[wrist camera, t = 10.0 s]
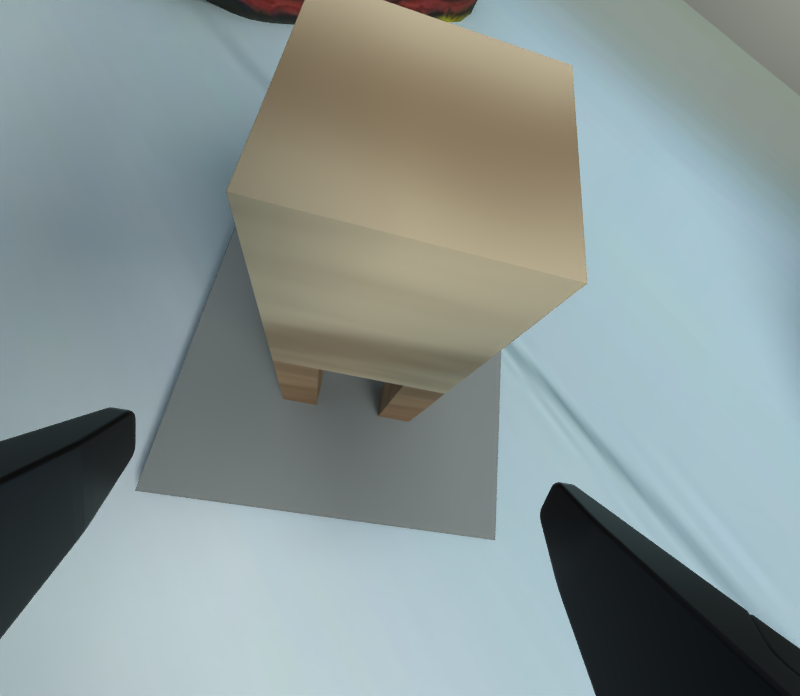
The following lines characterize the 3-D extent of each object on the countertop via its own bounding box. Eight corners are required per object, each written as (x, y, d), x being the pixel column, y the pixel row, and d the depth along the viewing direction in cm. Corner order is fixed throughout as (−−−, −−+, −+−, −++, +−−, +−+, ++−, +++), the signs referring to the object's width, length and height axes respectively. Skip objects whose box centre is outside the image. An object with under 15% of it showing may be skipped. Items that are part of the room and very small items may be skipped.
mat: (488, 538, 16) (494, 540, 16) (141, 490, 14) (135, 490, 14) (498, 268, 22) (503, 262, 21) (248, 205, 20) (246, 197, 19)
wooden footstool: (409, 421, 17) (587, 283, 6) (283, 398, 16) (226, 191, 5) (422, 313, 19) (572, 65, 8) (312, 288, 18) (314, -24, 7)
